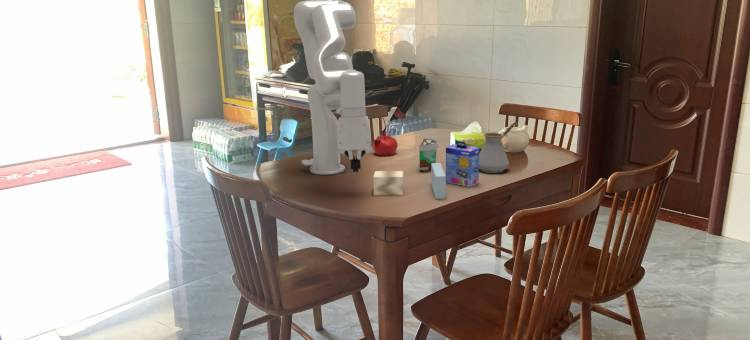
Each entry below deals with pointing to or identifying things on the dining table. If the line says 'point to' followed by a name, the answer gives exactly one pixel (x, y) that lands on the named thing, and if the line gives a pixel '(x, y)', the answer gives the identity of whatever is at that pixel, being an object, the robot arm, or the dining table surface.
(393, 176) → the block
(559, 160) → the dining table surface
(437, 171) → the board
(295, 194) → the dining table surface
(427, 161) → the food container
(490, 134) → the coffee pot
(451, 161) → the ink cartridge box
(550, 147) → the dining table surface
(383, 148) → the pomegranate
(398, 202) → the dining table surface
